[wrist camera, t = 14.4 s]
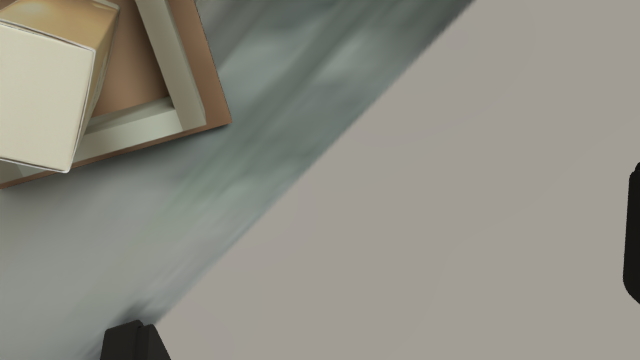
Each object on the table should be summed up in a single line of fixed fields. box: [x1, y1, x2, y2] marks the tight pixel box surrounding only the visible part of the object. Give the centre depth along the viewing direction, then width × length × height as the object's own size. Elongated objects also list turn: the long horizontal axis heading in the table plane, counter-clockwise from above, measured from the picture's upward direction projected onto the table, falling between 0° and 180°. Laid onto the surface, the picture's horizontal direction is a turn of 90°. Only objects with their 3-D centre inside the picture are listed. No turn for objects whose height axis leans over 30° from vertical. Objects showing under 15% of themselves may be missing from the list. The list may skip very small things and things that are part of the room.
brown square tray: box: [0, 0, 232, 189], centre depth 34 cm, size 16×16×4 cm
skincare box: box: [0, 0, 120, 173], centre depth 29 cm, size 6×4×12 cm
